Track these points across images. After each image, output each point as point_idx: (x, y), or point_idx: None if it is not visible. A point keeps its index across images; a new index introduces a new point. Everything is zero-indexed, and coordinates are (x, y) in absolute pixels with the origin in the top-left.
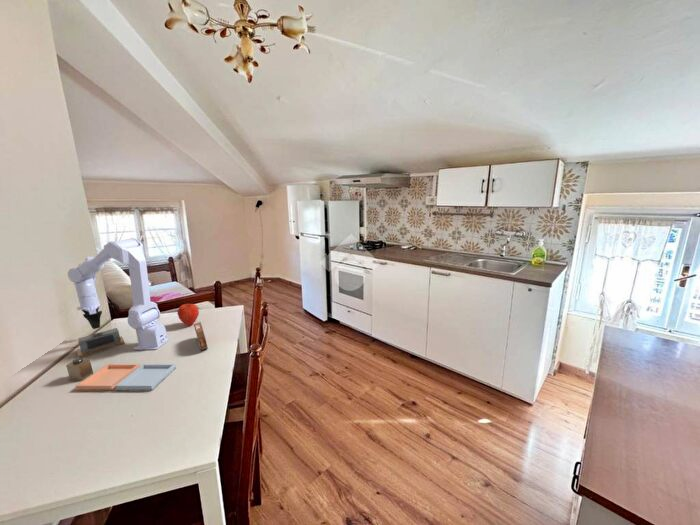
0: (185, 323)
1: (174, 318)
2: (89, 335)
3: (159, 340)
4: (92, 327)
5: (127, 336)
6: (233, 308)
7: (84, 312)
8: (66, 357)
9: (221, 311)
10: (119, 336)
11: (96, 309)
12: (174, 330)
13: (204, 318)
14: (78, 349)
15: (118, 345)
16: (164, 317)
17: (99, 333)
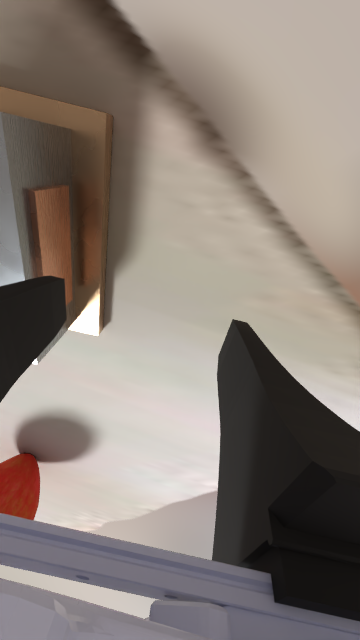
0: (2, 463)
1: (139, 472)
2: (13, 214)
3: None
4: (33, 280)
5: (107, 347)
6: (66, 526)
7: (282, 424)
8: (67, 11)
9: (71, 515)
10: None
11: (224, 510)
12: (21, 427)
13: (54, 487)
14: (95, 119)
15: None
16: (186, 470)
17: (4, 274)
